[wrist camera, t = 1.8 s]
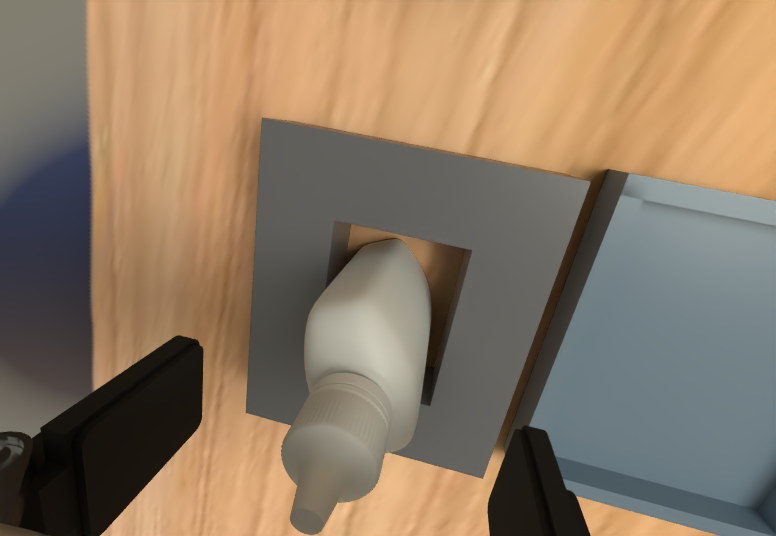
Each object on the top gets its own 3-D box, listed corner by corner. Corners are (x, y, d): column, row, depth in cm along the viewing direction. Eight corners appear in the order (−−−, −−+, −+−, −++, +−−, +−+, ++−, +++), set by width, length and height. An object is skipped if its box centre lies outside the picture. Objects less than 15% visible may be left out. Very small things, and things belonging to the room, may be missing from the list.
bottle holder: (294, 121, 17) (261, 117, 14) (566, 174, 16) (590, 182, 13) (272, 377, 22) (245, 412, 19) (479, 432, 20) (482, 478, 18)
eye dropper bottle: (342, 326, 20) (195, 570, 9) (366, 226, 18) (217, 374, 7) (421, 351, 19) (377, 639, 8) (456, 253, 17) (457, 455, 6)
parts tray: (607, 169, 15) (629, 173, 13) (964, 237, 14) (1043, 252, 12) (503, 446, 20) (508, 477, 19) (756, 514, 19) (789, 554, 17)
